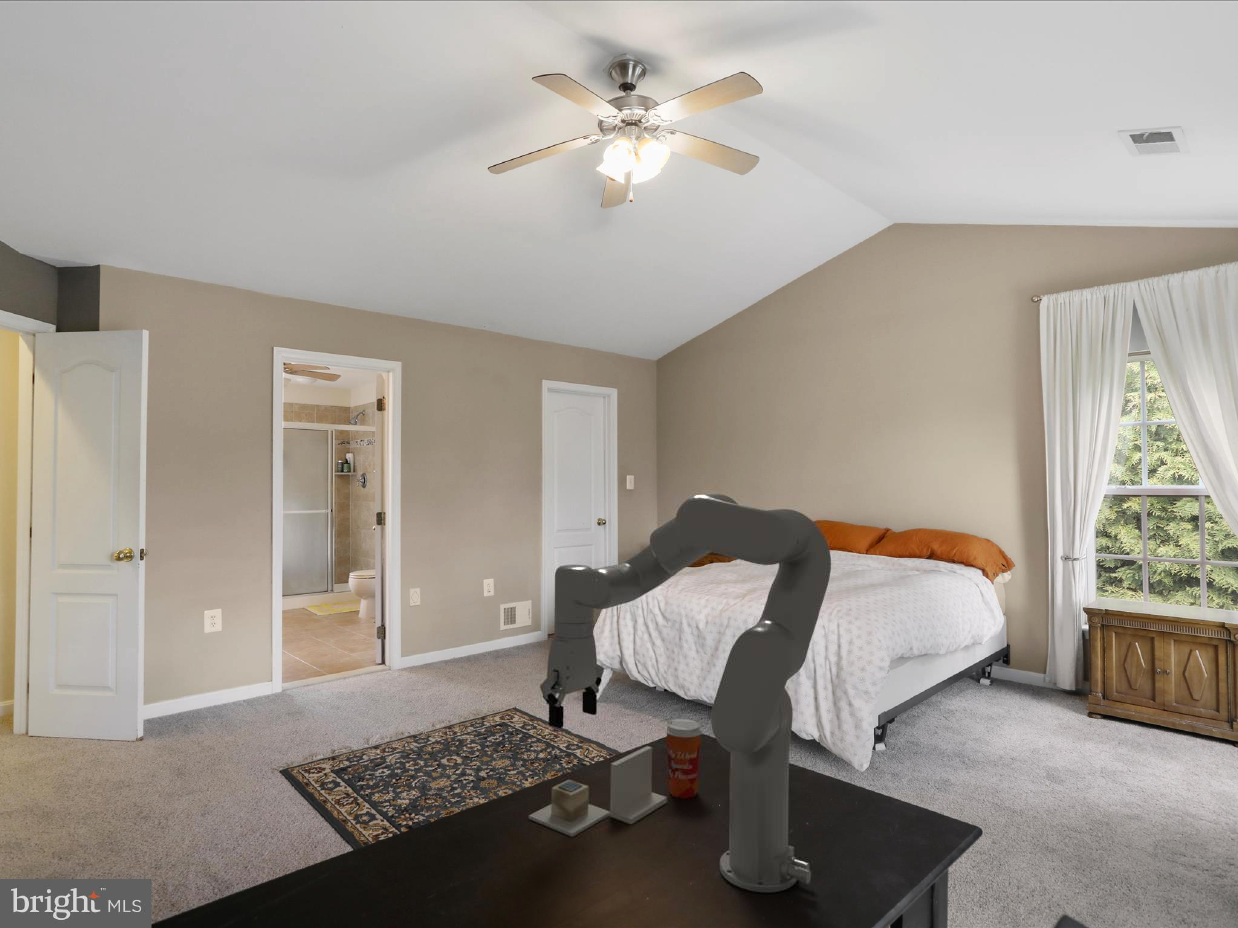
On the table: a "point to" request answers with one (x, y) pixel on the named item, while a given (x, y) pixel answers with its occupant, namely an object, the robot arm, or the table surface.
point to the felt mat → (565, 826)
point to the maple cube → (569, 800)
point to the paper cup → (683, 756)
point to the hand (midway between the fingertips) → (573, 719)
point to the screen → (633, 787)
